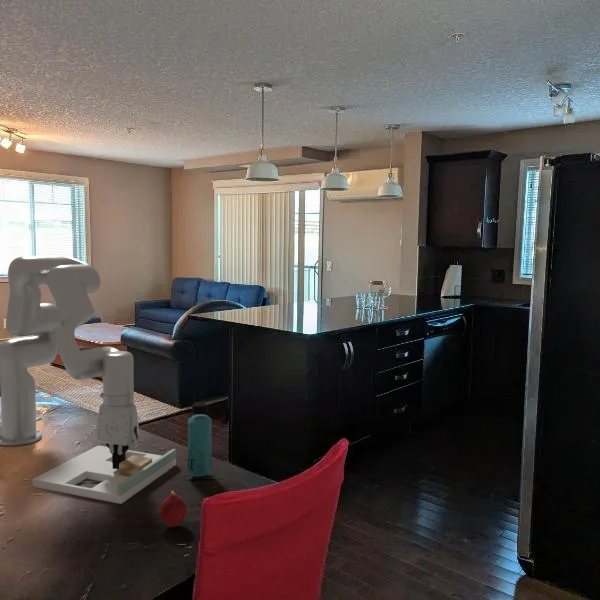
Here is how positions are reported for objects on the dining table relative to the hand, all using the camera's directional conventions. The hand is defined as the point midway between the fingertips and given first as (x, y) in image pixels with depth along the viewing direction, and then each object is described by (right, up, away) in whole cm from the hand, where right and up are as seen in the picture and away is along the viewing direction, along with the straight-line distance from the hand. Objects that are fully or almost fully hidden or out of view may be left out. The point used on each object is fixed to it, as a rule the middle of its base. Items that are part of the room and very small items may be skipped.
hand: (118, 467), depth 144 cm
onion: (+20, -6, -24) cm, 32 cm away
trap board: (-3, -3, +1) cm, 4 cm away
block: (+5, -1, -1) cm, 5 cm away
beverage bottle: (+21, -3, +1) cm, 21 cm away
